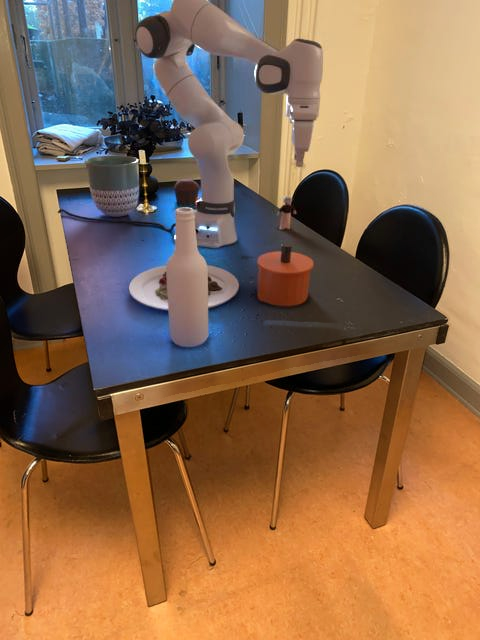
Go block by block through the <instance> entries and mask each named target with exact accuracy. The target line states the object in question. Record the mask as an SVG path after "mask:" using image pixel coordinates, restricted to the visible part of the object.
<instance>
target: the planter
mask: <svg viewBox="0 0 480 640" xmlns="http://www.w3.org/2000/svg"><path fill="white" fill-rule="evenodd" d="M84 166H85V171H86V176H87V180H88V186H89V189H90V190H89V191H90V195H91V198H92V201H93V203H94V206H95V207H96V208H97V209H98V210H99V211H100V212H101V213H102V214H104V215H106V216H108V217H113V218H119V217H125V216H127V215H129V214H130V213H132V212H133V211H134V210H135V208H136V207H137V205H138V203H139V197H140V177H139V176H140V175H139V159H138V158H137V157H133V156H130V155H129V156H127V155H100V156H99V155H98V156H93V157H89V158H87V159H85V160H84Z"/></svg>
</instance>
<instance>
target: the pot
mask: <svg viewBox="0 0 480 640" xmlns="http://www.w3.org/2000/svg"><path fill="white" fill-rule="evenodd" d="M310 276H311V270H310V271H309V272H306V273H303V274H298V275H280V274H274V273H270V272H267V271H265V270H263V269H261V268H260V267H259V266H258V273H257V293H256V295H257V299H258V300H259V301H260V302H264V303H267V304H270V305H274V306H279V307H292V306H298V305H301V304H302V303H304V302H306V301H307V299H308V296H309V288H310V278H311V277H310Z"/></svg>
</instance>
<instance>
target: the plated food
mask: <svg viewBox="0 0 480 640" xmlns="http://www.w3.org/2000/svg"><path fill="white" fill-rule="evenodd" d="M166 267H167V264H165V265H160V266H156V267H151V268H150V269H146V270H144V271H142V272H140V273H139V274H137V275H136V276H135V277H133V278H132V280H131V281H130V283H129V286H128V291H129V294H130V296H131V297H132V298H133V299H134V300H135V301H137V303H139V304H142V305H144V306H145V307H150V308H153V309H156V310H162V311H168V294H167V278H166ZM207 268H208V309H210V308H215V307H217V306H220V305H222V304H225V303H226V302H228V301H230V300H232V299H233V297H235V296H236V295H237V293H238V291H239V288H240V283H239V281H238V279H237V278H236V276H235V275H233V274H232V273H231V272H229V271H227V270H226V269H223V268H220V267H217V266H213V265H210V264H209V265H208V264H207Z"/></svg>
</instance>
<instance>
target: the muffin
mask: <svg viewBox="0 0 480 640" xmlns="http://www.w3.org/2000/svg"><path fill="white" fill-rule="evenodd" d="M172 189H173V190H174V195H175V200H176V203H177V204H178V205H181V206H194V205H195V206H196V198H197V197H199V191H200V190H201V186H199V184H198V183H197V181H195V180H193V179H191V178H183V179H179V180H178V181H176V183H175V184H174V185H173V187H172Z"/></svg>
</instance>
